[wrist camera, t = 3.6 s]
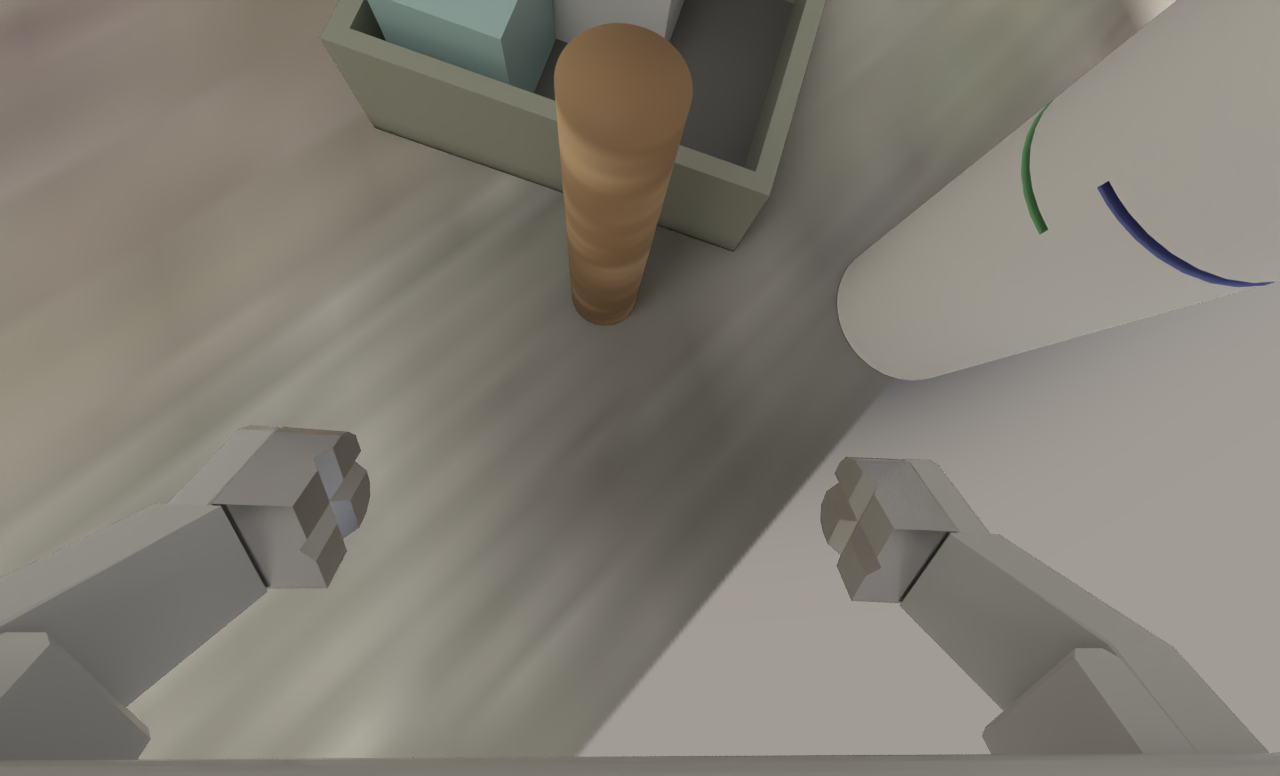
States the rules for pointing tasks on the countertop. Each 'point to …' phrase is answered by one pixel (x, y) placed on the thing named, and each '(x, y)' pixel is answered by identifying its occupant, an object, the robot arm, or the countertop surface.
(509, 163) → the grey open box
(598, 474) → the countertop surface
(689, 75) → the brown wooden cylinder
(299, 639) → the countertop surface
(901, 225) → the cylindrical container
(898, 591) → the robot arm
